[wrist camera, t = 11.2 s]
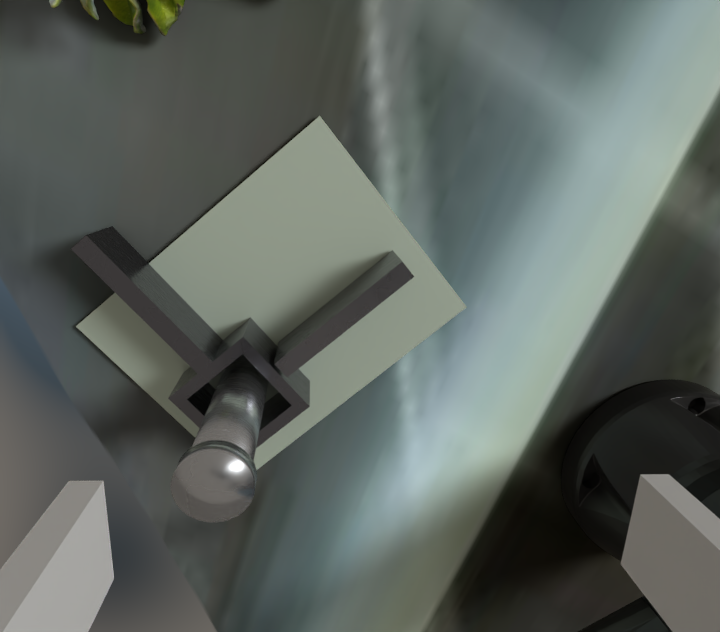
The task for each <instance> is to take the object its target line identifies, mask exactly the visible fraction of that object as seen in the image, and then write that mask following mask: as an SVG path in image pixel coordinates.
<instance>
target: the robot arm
mask: <svg viewBox="0 0 720 632" xmlns="http://www.w3.org/2000/svg"><path fill="white" fill-rule="evenodd" d="M561 486H562V493H563V497H564V500H565V503H566V506H567V508H568V510H569V511H570V513H571V515H572V516H573V517H574V519H575V520H576V522H577V523H578V524H579V526H580V527H581V528H582V530H583V531H584V532H585V534H586V535H587V536H588V537H589V538H590V539H591V540H592V541H593V542H594V543H595V544H596V545H598V546H599V547H600V548H602V549H603V550H605V551H606V552H608V553H609V554H611V555H612V556H614V557H615V558H617V559H618V560H620V561H621V565H622V566H623V568H624V569H625V570H626V572H627V573H628V574H629V576H630V577H631V578H632V580H633V581H634V582H635V584H636V585H637V586H638V587H639V589H640V590H641V591H642V593H643V594H644V595H645V596H643V597H641V598H639V599H637V600H635V601H633V602H632V603H630V604H628V605H626V606H624V607H622V608H621V609H619V610H617V611H615V612H613V613H611V614H610V615H608V616H606V617H604V618H602V619H600V620H599V621H597V622H595V623H593V624H591V625H589V626H587V627H586V628H584V629H582V630H580V631H578V632H720V395H718V394H717V393H715V392H713V391H712V390H710V389H708V388H706V387H704V386H701V385H699V384H696V383H692V382H688V381H682V380H660V381H653V382H649V383H645V384H641V385H638V386H635V387H632V388H630V389H628V390H625V391H623V392H621V393H619V394H618V395H616V396H614V397H613V398H611V399H609V400H608V401H607V402H605V403H604V404H603V405H601V406H600V407H599V408H598V409H596V410H595V411H594V412H593V413H592V414H591V415H590V416H589V417H588V418H587V419H586V421H585V422H584V423H583V424H582V425H581V427H580V428H579V429H578V431H577V432H576V434H575V436H574V437H573V439H572V441H571V443H570V445H569V447H568V449H567V452H566V455H565V458H564V462H563V466H562V474H561ZM113 579H114V573H113V564H112V555H111V547H110V537H109V528H108V518H107V509H106V500H105V491H104V483H103V481H68V483H67V484H66V485H65V487H64V488H63V489H62V491H61V492H60V493H59V494H58V496H57V497H56V498H55V500H54V501H53V502H52V504H51V505H50V506H49V507H48V508H47V510H46V511H45V512H44V514H43V515H42V516H41V518H40V519H39V520H38V521H37V523H36V524H35V525H34V527H33V528H32V529H31V531H30V532H29V533H28V534H27V536H26V537H25V538H24V540H23V541H22V542H21V543H20V545H19V546H18V547H17V549H16V550H15V551H14V552H13V554H12V555H11V556H10V558H9V559H8V560H7V561H6V563H5V564H4V565H3V567H2V568H1V569H0V632H88V631H89V629H90V627H91V625H92V623H93V621H94V619H95V616H96V615H97V613H98V610H99V608H100V606H101V604H102V602H103V600H104V598H105V596H106V594H107V592H108V590H109V588H110V586H111V583H112V582H113Z"/></svg>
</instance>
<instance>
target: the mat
mask: <svg viewBox="0 0 720 632" xmlns="http://www.w3.org/2000/svg"><path fill="white" fill-rule="evenodd" d="M392 250H393V251H394V253H395V254H396V255H397V256H398V257H399V258H400V259H401V261H402V262H403V263H404V264H405V265H406V267H407V268H408V269H409V271H410V272H411V273H412V274H413V276H414V277H413V278H412V279H411V280H410V281H408V282H407V283H406V284H405V285H403V286H402V287H401V288H400V289H398V290H397V291H396V292H395V293H393V294H392V295H391V296H389V297H388V298H387V299H386V300H384V301H383V302H382V303H381V304H379V305H378V306H377V307H376V308H374V309H373V310H372V311H371V312H369V313H368V314H367V315H366V316H364V317H363V318H362V319H361V320H359V321H358V322H357V323H356V324H354V325H353V326H352V327H350V328H349V329H348V330H347V331H345V332H344V333H343V334H342V335H340V336H339V337H338V338H337V339H335V340H334V341H333V342H332V343H330V344H329V345H328V346H327V347H325V348H324V349H323V350H322V351H320V352H319V353H318V354H317V355H315V356H314V357H313V358H311V359H310V360H309V361H308V362H306V363H305V364H304V365H303V366H301V367H300V368H299V370H300V371H301V372H302V373H303V374H304V375H305V376H306V377H307V378H308V379H309V380H310V407H309V408H307V409H306V410H305V411H303V412H302V413H301V414H300V415H298V416H297V417H296V418H295V419H293V420H292V421H291V422H289V423H288V424H287V425H286V426H284V427H283V428H282V429H280V430H279V431H278V432H277V433H275V434H274V435H273V436H271V437H270V438H269V439H268V440H266V441H265V442H264V443H263V444H261V445H260V446H259V447H257V448H256V451H255V457H254V464H255V467H256V470H257V469H258V468H260V467H261V466H262V465H264V464H265V463H266V462H268V461H269V460H270V459H271V458H273V457H274V456H275V455H277V454H278V453H279V452H280V451H282V450H283V449H284V448H286V447H287V446H288V445H289V444H291V443H292V442H293V441H295V440H296V439H297V438H298V437H300V436H301V435H302V434H304V433H305V432H306V431H308V430H309V429H310V428H311V427H313V426H314V425H315V424H317V423H318V422H319V421H320V420H322V419H323V418H324V417H326V416H327V415H328V414H329V413H331V412H332V411H333V410H335V409H336V408H337V407H338V406H340V405H341V404H342V403H344V402H345V401H346V400H348V399H349V398H350V397H351V396H353V395H354V394H355V393H357V392H358V391H359V390H360V389H362V388H363V387H364V386H366V385H367V384H368V383H369V382H371V381H372V380H373V379H375V378H376V377H377V376H378V375H380V374H381V373H382V372H384V371H385V370H386V369H388V368H389V367H390V366H391V365H393V364H394V363H395V362H397V361H398V360H399V359H400V358H402V357H403V356H404V355H406V354H407V353H408V352H409V351H411V350H412V349H413V348H415V347H416V346H417V345H418V344H420V343H421V342H422V341H424V340H425V339H426V338H428V337H429V336H430V335H431V334H433V333H434V332H435V331H437V330H438V329H439V328H440V327H442V326H443V325H444V324H446V323H447V322H448V321H449V320H451V319H452V318H453V317H455V316H456V315H457V314H458V313H460V312H461V311H462V310H464V309H465V308H466V306H465V304H464V303H463V302H462V300H461V299H460V298H459V296H458V295H457V294H456V293H455V291H454V290H453V289H452V287H451V286H450V285H449V283H448V282H447V281H446V280H445V278H444V277H443V276H442V274H441V273H440V272H439V270H438V269H437V268H436V267H435V265H434V264H433V263H432V261H431V260H430V259H429V257H428V256H427V255H426V254H425V252H424V251H423V250H422V248H421V247H420V246H419V244H418V243H417V242H416V241H415V239H414V238H413V237H412V235H411V234H410V233H409V231H408V230H407V229H406V228H405V226H404V225H403V224H402V222H401V221H400V220H399V218H398V217H397V216H396V215H395V213H394V212H393V211H392V209H391V208H390V207H389V205H388V204H387V203H386V202H385V200H384V199H383V198H382V196H381V195H380V194H379V192H378V191H377V190H376V189H375V187H374V186H373V185H372V183H371V182H370V181H369V179H368V178H367V177H366V176H365V174H364V173H363V172H362V170H361V169H360V168H359V166H358V165H357V164H356V163H355V161H354V160H353V159H352V157H351V156H350V155H349V153H348V152H347V151H346V150H345V148H344V147H343V146H342V144H341V143H340V142H339V140H338V139H337V138H336V137H335V135H334V134H333V133H332V131H331V130H330V129H329V127H328V126H327V125H326V124H325V122H324V121H323V120H322V118H321V117H320V116H319V117H318V118H317V119H315V120H314V121H313V122H312V123H311V124H310V125H309V126H307V127H306V128H305V129H304V130H303V131H302V132H300V133H299V134H298V135H297V136H296V137H295V138H293V139H292V140H291V141H290V142H289V143H288V144H287V145H285V146H284V147H283V148H282V149H281V150H280V151H278V152H277V153H276V154H275V155H274V156H273V157H271V158H270V159H269V160H268V161H267V162H266V163H264V164H263V165H262V166H261V167H260V168H259V169H258V170H256V171H255V172H254V173H253V174H252V175H251V176H249V177H248V178H247V179H246V180H245V181H244V182H242V183H241V184H240V185H239V186H238V187H237V188H236V189H234V190H233V191H232V192H231V193H230V194H229V195H227V196H226V197H225V198H224V199H223V200H222V201H220V202H219V203H218V204H217V205H216V206H215V207H214V208H212V209H211V210H210V211H209V212H208V213H207V214H205V215H204V216H203V217H202V218H201V219H200V220H198V221H197V222H196V223H195V224H194V225H193V226H192V227H190V228H189V229H188V230H187V231H186V232H185V233H183V234H182V235H181V236H180V237H179V238H178V239H176V240H175V241H174V242H173V243H172V244H171V245H170V246H168V247H167V248H166V249H165V250H164V251H163V252H161V253H160V254H159V255H158V256H157V257H156V258H154V259H153V260H152V261H151V262H150V263H149V264H150V265H151V267H152V268H153V269H154V270H155V271H156V272H157V273H158V274H159V275H160V276H161V277H162V278H163V279H164V280H165V281H166V282H167V283H168V284H169V285H170V286H171V287H172V288H173V289H174V290H175V291H176V292H177V293H178V294H179V295H180V296H181V297H182V298H183V299H184V300H185V301H186V303H187V304H188V305H189V306H190V307H191V308H192V309H193V310H194V311H195V312H196V313H197V314H198V315H199V316H200V317H201V318H202V319H203V320H204V321H205V322H206V323H207V324H208V325H209V326H210V327H211V328H212V329H213V330H214V331H215V332H216V333H217V334H218V335H219V336H220V337H221V338H222V340H224V339H225V338H226V337H227V336H229V335H230V334H231V333H232V332H233V331H235V330H236V329H237V328H238V327H239V326H241V325H242V324H243V323H244V322H246V321H247V320H248V319H249V318H250V317H251V318H252V320H253V321H254V322H255V323H256V324H257V325H258V326H259V327H260V328H261V329H262V330H263V331H264V332H265V333H266V335H267V336H268V337H269V338H270V339H271V340H272V341H273V342H274V343H275V344H276V345H277V346H278V342H279V341H280V340H281V339H283V338H284V337H285V336H286V335H288V334H289V333H290V332H291V331H293V330H294V329H295V328H296V327H298V326H299V325H300V324H301V323H303V322H304V321H305V320H306V319H307V318H309V317H310V316H311V315H312V314H314V313H315V312H316V311H317V310H319V309H320V308H321V307H322V306H324V305H325V304H326V303H327V302H329V301H330V300H331V299H332V298H333V297H335V296H336V295H337V294H338V293H340V292H341V291H342V290H343V289H345V288H346V287H347V286H348V285H350V284H351V283H352V282H353V281H355V280H356V279H357V278H358V277H359V276H361V275H362V274H363V273H364V272H366V271H367V270H368V269H369V268H371V267H372V266H373V265H374V264H376V263H377V262H378V261H379V260H381V259H382V258H383V257H384V256H385V255H387V254H388V253H389V252H390V251H392ZM76 327H77V328H78V329H79V330H80V331H81V332H82V333H83V334H84V335H85V336H87V337H88V338H89V339H90V340H91V341H92V342H93V343H94V344H95V345H96V346H97V347H98V348H99V349H100V350H102V351H103V352H104V353H105V354H106V355H107V356H108V357H109V358H110V359H111V360H112V361H113V362H114V363H116V364H117V365H118V366H119V367H120V368H121V369H122V370H123V371H124V372H125V373H126V374H127V375H128V376H129V377H131V378H132V379H133V380H134V381H135V382H136V383H137V384H138V385H139V386H140V387H141V388H142V389H143V390H144V391H146V392H147V393H148V394H149V395H150V396H151V397H152V398H153V399H154V400H155V401H156V402H157V403H158V404H160V405H161V406H162V407H163V408H164V409H165V410H166V411H167V412H168V413H169V414H170V415H171V416H172V417H173V418H175V419H176V420H177V421H178V422H179V423H180V424H181V425H182V426H183V427H184V428H185V429H186V430H187V431H188V432H190V433H191V434H192V435H193V436H194V437H195V438H196V436H197V433H198V431H199V427H198V426H197V425H196V424H195V423H194V422H193V421H191V420H190V419H189V418H188V417H187V416H186V415H185V414H184V413H183V412H182V411H181V410H180V409H179V408H178V407H177V406H176V405H175V404H173V403H172V402H171V401H170V400H169V399H168V397H169V396H170V394H171V392H172V391H173V389H174V387H175V386H176V384H177V382H178V381H179V379H180V377H181V375H182V374H183V372H185V371H186V370H187V369H188V368H190V366H189V365H188V364H187V363H186V362H185V361H184V360H183V359H182V358H181V357H180V356H179V355H178V354H177V353H176V352H175V351H174V350H173V349H172V348H171V347H170V346H169V345H168V344H167V343H166V342H165V341H164V340H163V339H162V338H161V337H160V336H159V335H158V334H157V333H156V332H155V331H154V330H153V329H152V328H151V327H150V326H149V325H148V324H147V323H146V322H145V321H144V320H143V319H142V318H141V317H140V316H138V315H137V314H136V313H135V312H134V311H133V310H132V309H131V308H130V307H129V306H128V305H127V304H126V303H125V302H124V301H123V300H122V299H121V298H120V297H119V296H118V295H117V294H116V293H114V294H113V295H112V296H110V297H109V298H108V299H107V300H106V301H105V302H104V303H102V304H101V305H100V306H99V307H98V308H97V309H95V310H94V311H93V312H92V313H91V314H90V315H88V316H87V317H86V318H85V319H84V320H83V321H82V322H80V323H79V324H78V325H77V326H76ZM242 355H243V354H242ZM222 372H223V370H222V371H221V372H220V373H219V374H217V375H216V376H215V377H214V378H213V379H211V380H210V381H209V383H210V384H211V385H212V386H213V387H214V388H215V389H216V387H217V385H218V382H219V380H220V377H221V375H222ZM277 393H278V391H277V390H276V389H275V387H274V386H273V385H272V384H271V383H270V382H268V388H267V393H266V398H265V402H267V401H268V400H269V399H270V398H272V397H273V396H274V395H275V394H277Z"/></svg>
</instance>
